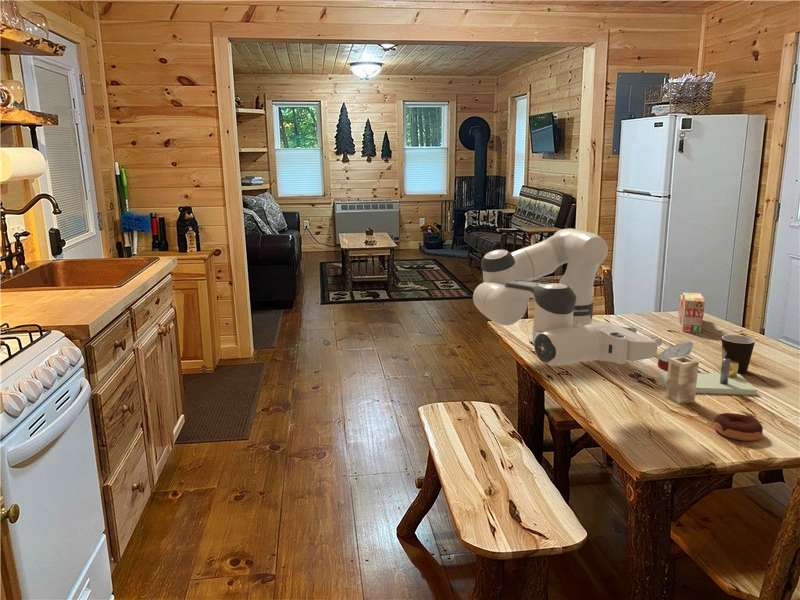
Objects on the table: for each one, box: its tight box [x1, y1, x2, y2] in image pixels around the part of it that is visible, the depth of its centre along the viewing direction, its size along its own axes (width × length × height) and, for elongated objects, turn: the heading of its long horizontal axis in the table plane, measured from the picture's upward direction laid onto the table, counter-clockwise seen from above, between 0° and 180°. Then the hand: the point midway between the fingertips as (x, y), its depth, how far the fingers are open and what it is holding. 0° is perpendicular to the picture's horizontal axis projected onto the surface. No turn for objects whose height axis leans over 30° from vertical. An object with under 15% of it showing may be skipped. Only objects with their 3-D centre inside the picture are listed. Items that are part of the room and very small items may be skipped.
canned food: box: [657, 341, 694, 372], centre depth 179 cm, size 11×10×10 cm
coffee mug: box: [721, 334, 756, 376], centre depth 176 cm, size 12×9×10 cm
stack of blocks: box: [678, 292, 706, 334], centre depth 222 cm, size 21×6×12 cm, turn 160°
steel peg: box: [720, 358, 731, 385], centre depth 162 cm, size 2×2×7 cm
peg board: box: [657, 370, 758, 396], centre depth 165 cm, size 22×12×2 cm, turn 82°
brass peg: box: [729, 361, 739, 378], centre depth 167 cm, size 3×3×4 cm
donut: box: [713, 412, 764, 442], centre depth 137 cm, size 10×10×4 cm
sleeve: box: [664, 356, 700, 405], centre depth 155 cm, size 5×5×11 cm
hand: (647, 335), depth 148 cm, fingers open, 8 cm apart
